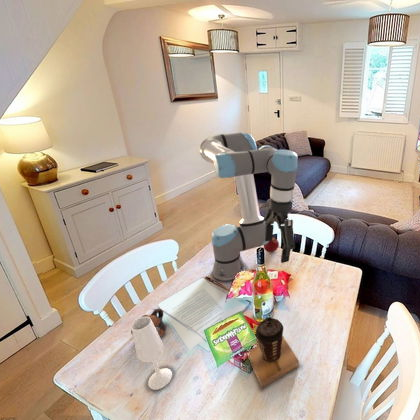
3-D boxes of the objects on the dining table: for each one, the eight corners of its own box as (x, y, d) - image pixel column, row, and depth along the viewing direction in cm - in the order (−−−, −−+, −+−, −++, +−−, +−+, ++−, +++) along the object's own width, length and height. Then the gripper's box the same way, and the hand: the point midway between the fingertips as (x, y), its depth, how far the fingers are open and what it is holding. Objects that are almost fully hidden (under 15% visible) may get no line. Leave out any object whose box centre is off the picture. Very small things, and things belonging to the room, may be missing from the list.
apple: (273, 256, 143) (272, 244, 139) (261, 252, 146) (260, 239, 143) (281, 249, 149) (281, 237, 145) (269, 245, 152) (269, 233, 149)
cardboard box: (246, 354, 92) (245, 348, 90) (280, 337, 98) (279, 331, 97) (261, 388, 82) (261, 381, 80) (298, 366, 88) (298, 360, 87)
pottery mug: (160, 345, 95) (141, 334, 90) (142, 348, 98) (123, 338, 93) (175, 313, 104) (159, 302, 99) (158, 317, 107) (142, 306, 102)
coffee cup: (271, 338, 94) (269, 311, 88) (289, 351, 90) (289, 323, 84) (252, 357, 87) (249, 328, 82) (271, 371, 83) (270, 343, 78)
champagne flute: (166, 364, 88) (148, 309, 78) (176, 377, 84) (159, 322, 74) (144, 379, 83) (122, 324, 73) (153, 394, 79) (132, 338, 69)
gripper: (311, 214, 81) (302, 268, 91) (275, 182, 99) (271, 230, 109) (289, 218, 77) (282, 274, 87) (256, 184, 95) (253, 234, 105)
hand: (276, 250), depth 98 cm, fingers open, 13 cm apart
